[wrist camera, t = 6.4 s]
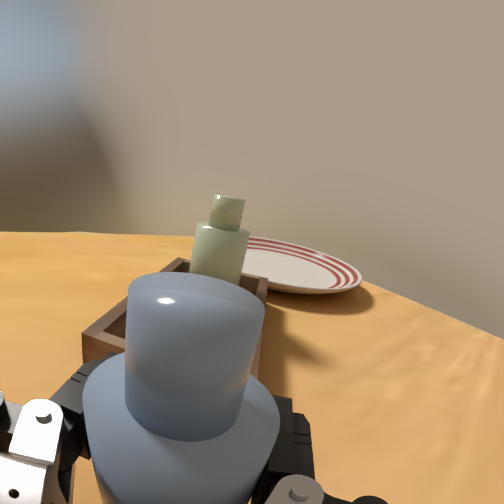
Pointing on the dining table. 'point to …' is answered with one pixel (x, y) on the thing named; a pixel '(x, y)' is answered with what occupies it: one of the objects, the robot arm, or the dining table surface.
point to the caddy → (114, 321)
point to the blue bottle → (182, 397)
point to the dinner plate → (298, 268)
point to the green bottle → (221, 241)
